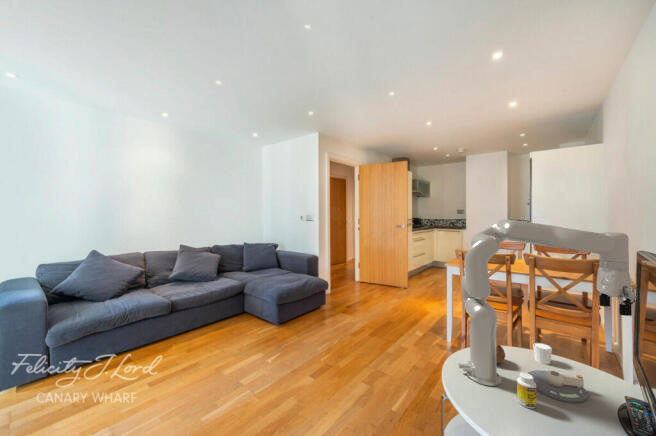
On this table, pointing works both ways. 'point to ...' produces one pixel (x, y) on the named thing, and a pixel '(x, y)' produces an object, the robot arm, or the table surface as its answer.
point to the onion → (499, 354)
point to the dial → (558, 389)
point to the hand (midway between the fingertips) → (614, 310)
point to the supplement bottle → (526, 390)
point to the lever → (564, 379)
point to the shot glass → (542, 353)
